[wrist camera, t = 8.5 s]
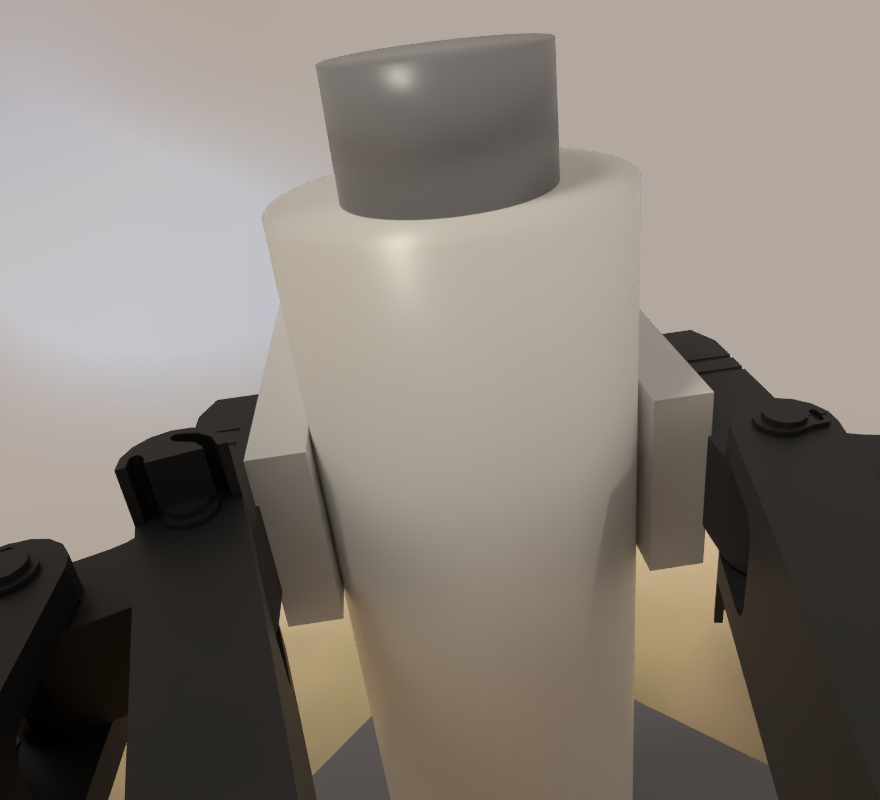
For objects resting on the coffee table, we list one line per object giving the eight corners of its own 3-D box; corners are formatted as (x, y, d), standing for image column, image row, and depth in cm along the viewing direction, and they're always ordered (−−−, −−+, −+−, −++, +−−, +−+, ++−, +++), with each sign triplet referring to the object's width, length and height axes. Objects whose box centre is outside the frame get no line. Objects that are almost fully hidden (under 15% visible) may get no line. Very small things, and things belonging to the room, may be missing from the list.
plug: (352, 844, 15) (147, 86, 8) (488, 688, 18) (414, 35, 11) (550, 1003, 12) (473, 77, 6) (672, 790, 15) (713, 14, 9)
